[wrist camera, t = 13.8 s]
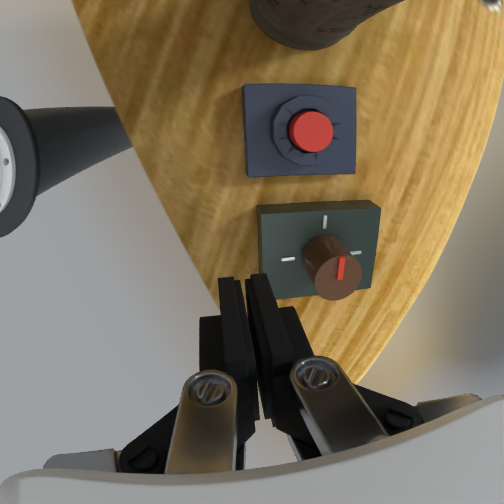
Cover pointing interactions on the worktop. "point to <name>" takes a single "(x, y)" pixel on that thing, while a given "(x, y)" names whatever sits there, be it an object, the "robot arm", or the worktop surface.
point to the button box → (278, 121)
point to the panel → (305, 229)
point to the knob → (331, 267)
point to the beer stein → (313, 19)
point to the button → (311, 131)
